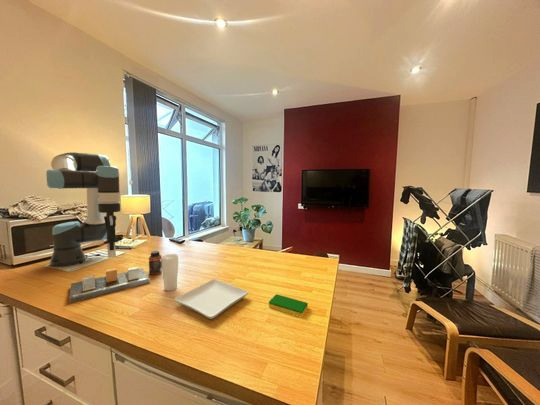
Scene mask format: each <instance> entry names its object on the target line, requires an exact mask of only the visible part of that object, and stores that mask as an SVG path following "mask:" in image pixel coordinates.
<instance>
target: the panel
mask: <svg viewBox="0 0 540 405" xmlns="http://www.w3.org/2000/svg"><path fill="white" fill-rule="evenodd" d="M150 278H151V277H149V276H148V274H147V273H146V271H145V269H144V268H140V267H139V266H135V267H129V268H127V271H124V272H119V273H117V280H116V281H111V282H107V283H106V275H105V276H101V277H95V275H90V276H86V277H81V279H82V280H80V281H77V282H72V283H71V284H70V290H69V297H68V298H69V299H68V300H69V304H71V303H75V302H79V301H83V300H87V299H91V298H96V297H99V296H103V295H106V294H112V293H115V292H119V291H123V290H126V289H131V288H134V287H139V286H143V285H147V284H151V281H150Z"/></svg>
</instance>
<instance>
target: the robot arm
mask: <svg viewBox="0 0 540 405" xmlns="http://www.w3.org/2000/svg"><path fill="white" fill-rule="evenodd" d="M50 166H51V168H52V169H47V170H46V171H45V172H46V186H47V187H48V188H50V189H58V190H59V189H86V204H87V205H86V206H87V207H86V208H87V209H86V211H87V217H86V218H85V219H84V221H83V222H84V223H81V222H79V220H76V221H68V222H62V223H59V224H56V225H54V226H53V227H52V233H51V235H52V244H53V245H52V246H53V252H52V255H51V258H50V260H49V266H51V267H67V266H72V265H75V264H80V263H82V262H84V261H86V255H85V253H84V251H83V249H82V246H81V244H82V243H90V242H98V241H99V242H101V241H104V240H106V241H105V244H106V245H107V246H106V247H107V249H106V250H107V259H110V258H116V257H117V254H116V251H117V250H116V242H117V239H116V225H117V224H116V222H117V216H116V215H115V213H118V212H119V213H120V212H121V203H120V202H121V192H120V170H119V167H117V166H115V165H113V166H112V165H111V162H110V159H109V157H108V156H107V155H104V154H96V153H87V152H86V153H85V152H75V151H74V152H64V153H60V154H58V155H56V156H54V157H53V158H52V160H51V162H50Z"/></svg>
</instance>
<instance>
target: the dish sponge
mask: <svg viewBox="0 0 540 405" xmlns="http://www.w3.org/2000/svg"><path fill="white" fill-rule="evenodd" d="M308 305H309V303H308V302H306V301H302V300H299V299H296V298H292V297H287V296H286V295H285V296H283V295H280V294H275V295H273V296H272V298H270V300H269V301H268V308H270V307H271V309H273V310H277V311H281V312H284V313H286V312H287V314H290V313H291V314H290V315H293V314H295V315H294V316H296V315H298V316H297V317H299V316H302V317H303V316H304V315H305V314H306V312H307V310H306V309H308V308H309V307H308ZM305 311H306V312H305ZM303 314H304V315H303Z"/></svg>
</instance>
